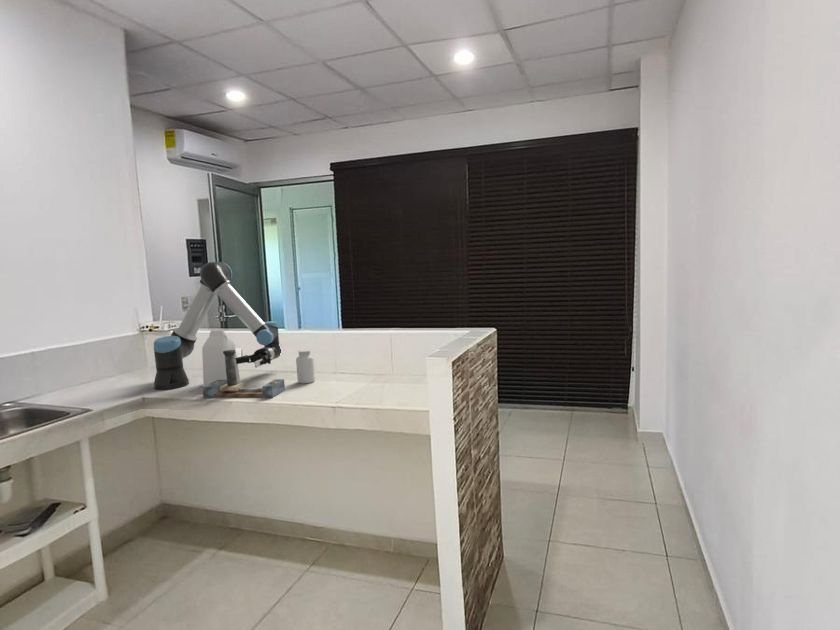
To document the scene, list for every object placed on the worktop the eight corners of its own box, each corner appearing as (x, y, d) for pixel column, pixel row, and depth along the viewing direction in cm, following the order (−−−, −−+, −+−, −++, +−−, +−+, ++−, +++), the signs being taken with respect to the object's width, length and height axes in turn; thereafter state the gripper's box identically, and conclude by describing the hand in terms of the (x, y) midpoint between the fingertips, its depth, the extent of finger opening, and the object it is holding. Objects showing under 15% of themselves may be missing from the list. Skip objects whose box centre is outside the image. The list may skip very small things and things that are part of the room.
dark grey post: (220, 392, 219) (216, 352, 217) (230, 387, 227) (226, 349, 225) (235, 392, 218) (231, 352, 216) (244, 387, 226) (241, 349, 224)
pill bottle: (317, 379, 242) (315, 349, 240) (309, 384, 234) (307, 352, 232) (303, 379, 244) (300, 348, 242) (294, 383, 236) (292, 352, 234)
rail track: (203, 398, 218) (202, 385, 218) (218, 390, 230) (217, 378, 230) (272, 397, 213) (271, 385, 213) (285, 390, 225) (284, 378, 224)
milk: (203, 386, 240) (198, 332, 237) (218, 380, 251) (213, 328, 248) (225, 386, 237) (220, 331, 234) (240, 380, 248) (235, 328, 245)
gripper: (287, 362, 250) (268, 372, 229) (241, 363, 254) (217, 373, 233) (286, 347, 249) (266, 356, 228) (239, 348, 253) (215, 357, 232)
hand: (241, 364), depth 231 cm, fingers open, 13 cm apart
